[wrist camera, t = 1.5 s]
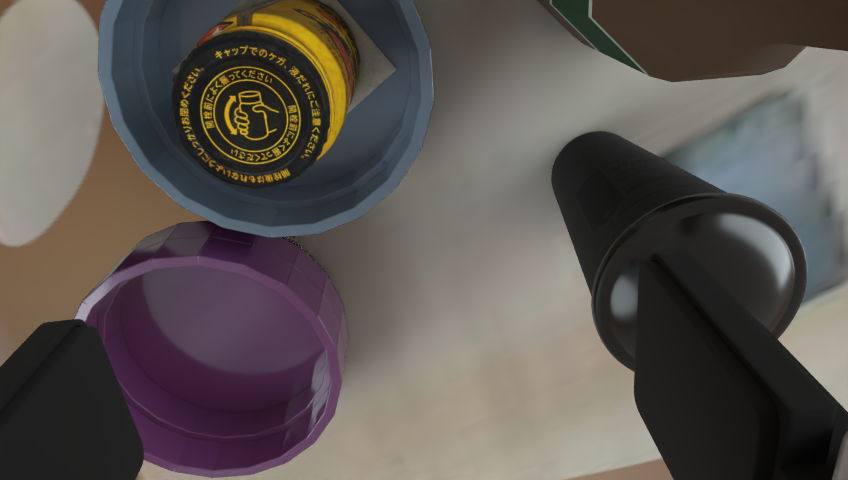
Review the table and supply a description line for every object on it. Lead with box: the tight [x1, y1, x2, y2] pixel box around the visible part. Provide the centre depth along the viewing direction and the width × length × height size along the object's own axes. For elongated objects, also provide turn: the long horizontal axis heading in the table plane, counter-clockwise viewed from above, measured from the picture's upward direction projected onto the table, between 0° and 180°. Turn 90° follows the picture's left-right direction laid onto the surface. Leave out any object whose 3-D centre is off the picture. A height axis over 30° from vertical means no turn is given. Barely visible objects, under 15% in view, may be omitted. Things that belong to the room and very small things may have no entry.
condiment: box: [171, 0, 397, 189], centre depth 26 cm, size 7×8×12 cm
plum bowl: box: [74, 221, 348, 478], centre depth 36 cm, size 14×14×5 cm
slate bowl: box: [98, 0, 434, 238], centre depth 30 cm, size 14×14×5 cm
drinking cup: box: [551, 131, 807, 372], centre depth 26 cm, size 8×8×20 cm
